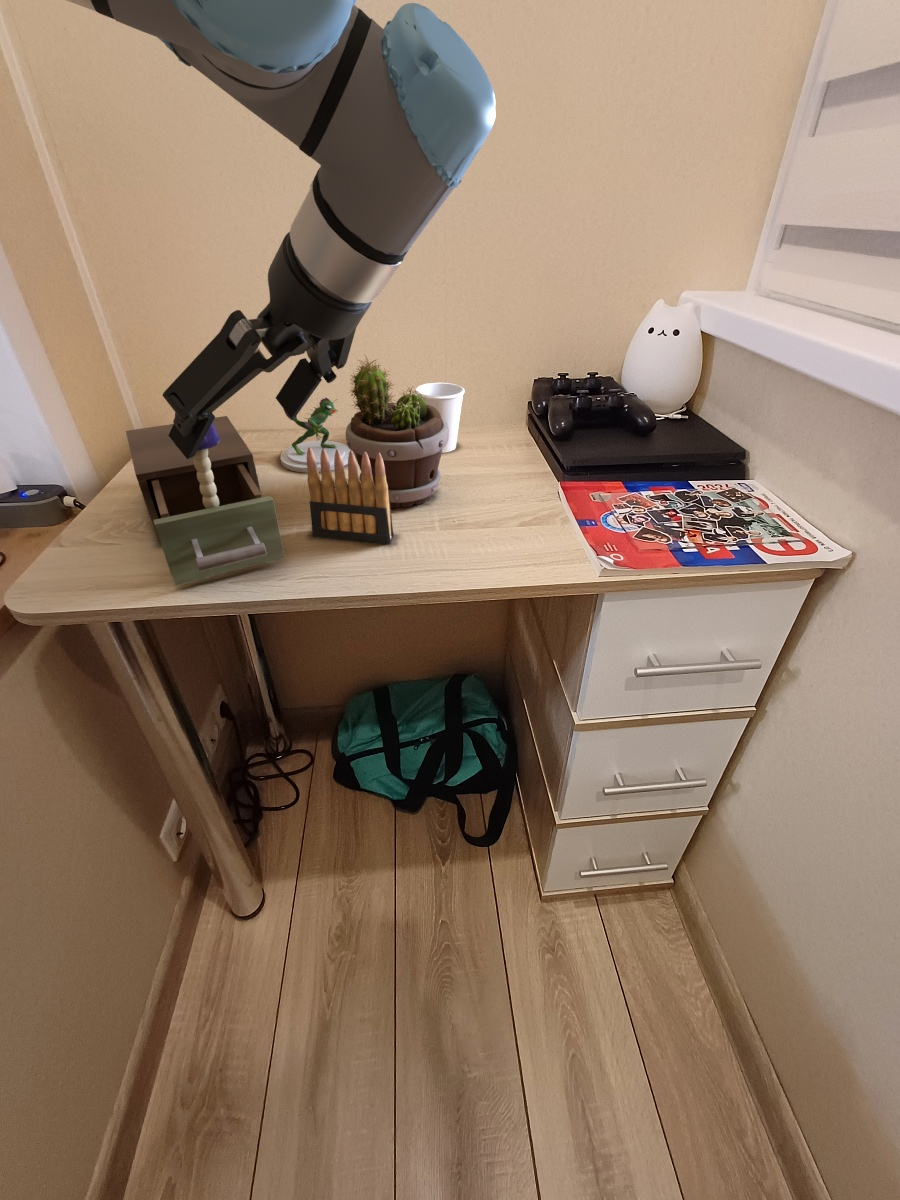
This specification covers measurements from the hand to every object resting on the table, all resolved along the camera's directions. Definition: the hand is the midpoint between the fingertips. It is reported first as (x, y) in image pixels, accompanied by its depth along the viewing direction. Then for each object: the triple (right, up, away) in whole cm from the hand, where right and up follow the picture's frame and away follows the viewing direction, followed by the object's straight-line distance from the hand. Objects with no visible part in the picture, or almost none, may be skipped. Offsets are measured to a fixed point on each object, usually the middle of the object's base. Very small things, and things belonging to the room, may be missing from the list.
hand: (237, 425), depth 58 cm
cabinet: (-14, -4, +24) cm, 28 cm away
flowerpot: (+14, -2, +28) cm, 32 cm away
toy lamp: (-6, -11, +12) cm, 17 cm away
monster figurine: (-1, +6, +39) cm, 40 cm away
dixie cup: (+20, +9, +44) cm, 49 cm away
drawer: (-6, -12, +12) cm, 18 cm away
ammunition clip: (+9, -10, +18) cm, 22 cm away
